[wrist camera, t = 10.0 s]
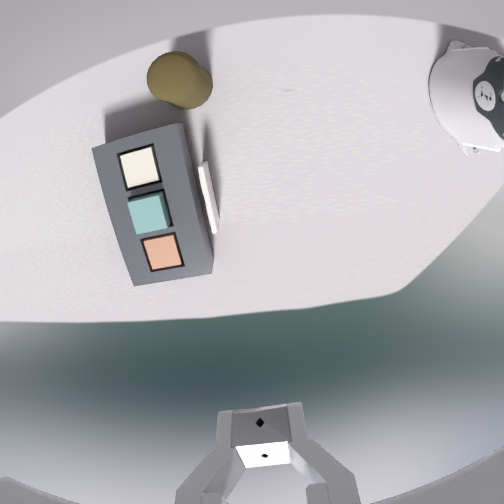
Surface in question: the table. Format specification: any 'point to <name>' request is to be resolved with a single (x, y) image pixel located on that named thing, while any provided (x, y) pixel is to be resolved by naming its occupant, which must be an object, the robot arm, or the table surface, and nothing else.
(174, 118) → the table surface
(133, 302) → the table surface
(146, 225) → the teal key
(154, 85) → the cork
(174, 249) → the terracotta key
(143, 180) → the cream key
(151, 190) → the keypad
